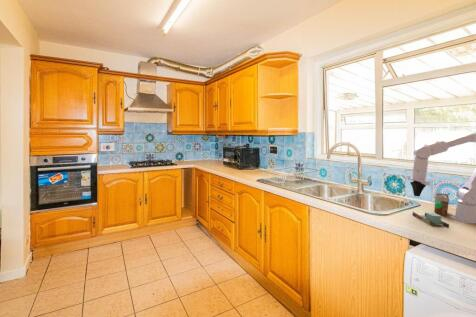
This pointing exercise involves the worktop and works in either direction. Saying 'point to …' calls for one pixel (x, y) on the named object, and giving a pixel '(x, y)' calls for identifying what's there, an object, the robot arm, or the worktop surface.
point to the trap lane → (430, 221)
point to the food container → (441, 203)
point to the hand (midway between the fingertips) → (416, 196)
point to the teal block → (434, 218)
